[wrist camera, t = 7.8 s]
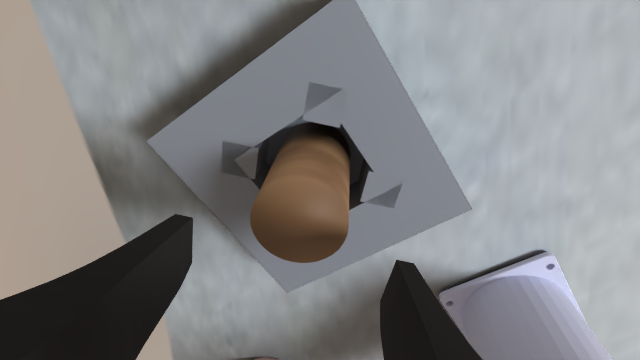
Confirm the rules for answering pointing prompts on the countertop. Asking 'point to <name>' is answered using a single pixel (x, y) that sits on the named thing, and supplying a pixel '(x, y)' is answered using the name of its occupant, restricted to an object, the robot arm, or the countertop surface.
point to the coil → (265, 358)
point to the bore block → (324, 108)
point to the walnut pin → (305, 196)
